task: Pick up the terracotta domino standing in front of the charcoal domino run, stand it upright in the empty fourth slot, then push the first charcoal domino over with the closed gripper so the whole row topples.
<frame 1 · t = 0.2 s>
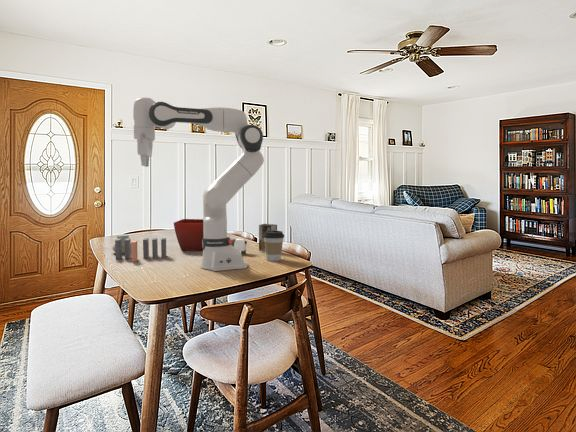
hand: (145, 166, 163), 47 cm above the table, fingers open, 8 cm apart
domino 3: (146, 257, 191), on the table
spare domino: (134, 260, 184), on the table
air freshener: (123, 253, 203), on the table
coffee box: (267, 252, 211), on the table
domino 5: (128, 258, 189), on the table
domino 6: (118, 258, 188), on the table
coffee cup: (273, 260, 190), on the table
giant panda: (235, 254, 204), on the table
domino 2: (155, 257, 192), on the table
plant pot: (194, 248, 217), on the table
domino 1: (164, 256, 193), on the table
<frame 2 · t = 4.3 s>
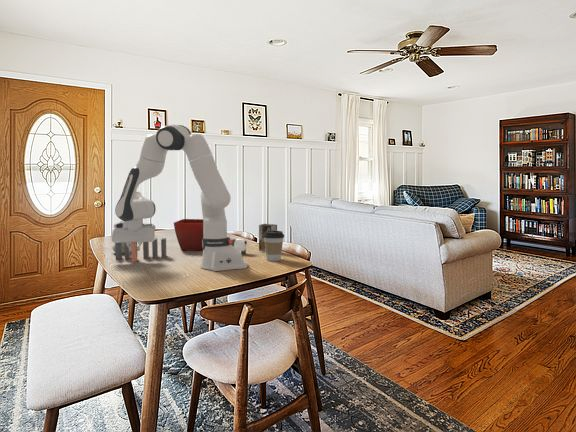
hand: (134, 250, 183), 5 cm above the table, fingers closed on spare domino, 2 cm apart
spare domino: (134, 260, 184), on the table, touching gripper
everything else where it was.
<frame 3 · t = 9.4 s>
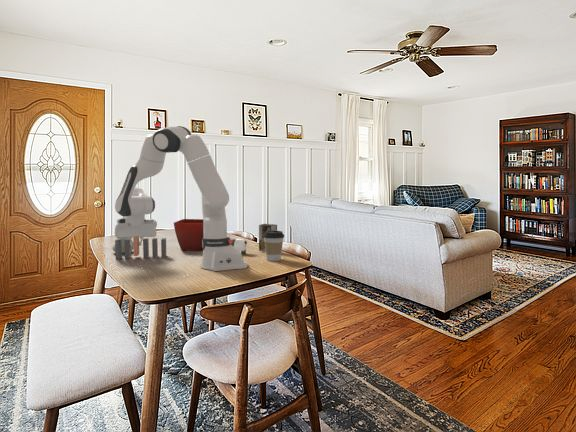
hand: (136, 245, 189), 7 cm above the table, fingers closed on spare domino, 2 cm apart
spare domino: (136, 255, 190), point 1 cm above the table, touching gripper
domino 5: (128, 258, 189), on the table, touching gripper
everything else where it was.
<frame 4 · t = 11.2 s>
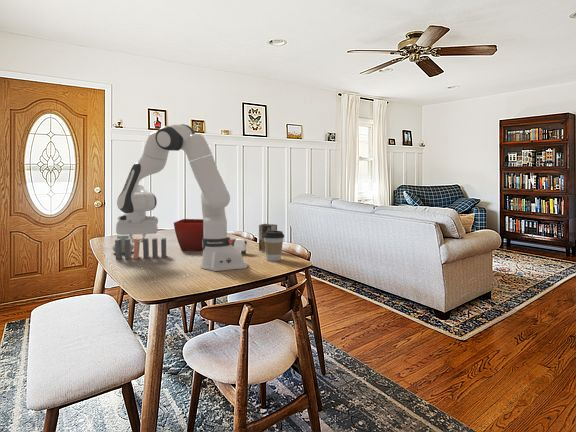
hand: (137, 242, 190), 8 cm above the table, fingers open, 3 cm apart
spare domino: (136, 257, 190), on the table, tilted 5°
domino 5: (128, 258, 189), on the table
everything else where it was.
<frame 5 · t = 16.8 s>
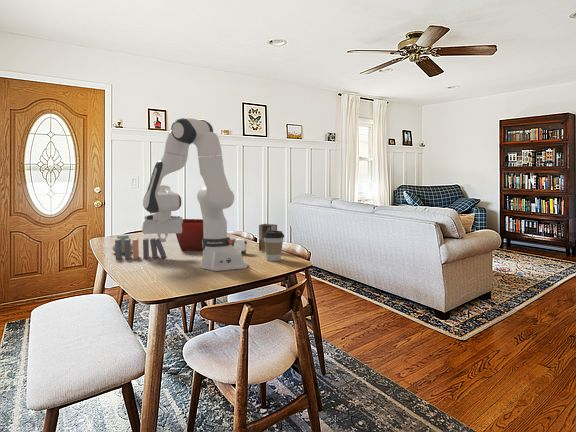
hand: (162, 241, 192), 8 cm above the table, fingers closed
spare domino: (135, 257, 190), on the table
domino 2: (155, 257, 192), on the table, tilted 6°
domino 1: (163, 256, 193), on the table, tilted 20°, touching gripper
everything else where it was.
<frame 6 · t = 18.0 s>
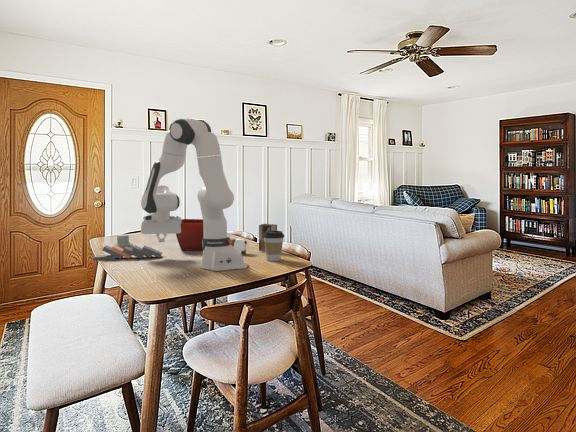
hand: (161, 242, 192), 8 cm above the table, fingers closed
domino 3: (143, 255, 191), point 1 cm above the table, tilted 66°, touching domino 2, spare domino
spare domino: (130, 256, 190), point 1 cm above the table, tilted 60°, touching domino 3, domino 5
domino 5: (122, 256, 189), point 1 cm above the table, tilted 60°, touching domino 6, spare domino
domino 6: (115, 257, 188), point 1 cm above the table, tilted 90°, touching domino 5
domino 2: (151, 255, 192), point 1 cm above the table, tilted 64°, touching domino 1, domino 3
domino 1: (161, 255, 193), point 1 cm above the table, tilted 64°, touching domino 2
everything else where it was.
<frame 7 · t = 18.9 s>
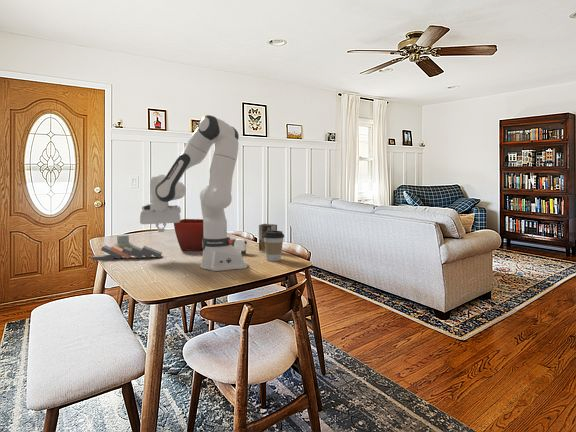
hand: (161, 231, 191), 14 cm above the table, fingers closed
domino 3: (142, 256, 191), point 1 cm above the table, tilted 67°, touching domino 2
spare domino: (130, 256, 190), point 1 cm above the table, tilted 61°, touching domino 5
domino 5: (121, 256, 189), point 1 cm above the table, tilted 61°, touching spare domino
domino 6: (114, 257, 188), point 1 cm above the table, tilted 90°
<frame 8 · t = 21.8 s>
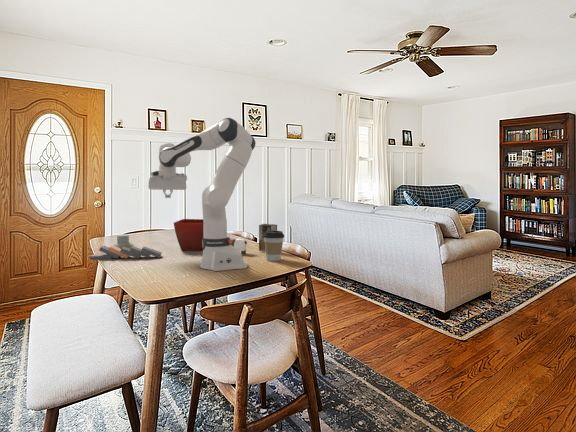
hand: (168, 197, 202), 31 cm above the table, fingers closed
domino 3: (140, 256, 191), point 1 cm above the table, tilted 66°, touching domino 2, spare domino
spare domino: (128, 255, 190), point 1 cm above the table, tilted 64°, touching domino 3, domino 5
domino 5: (119, 256, 189), point 1 cm above the table, tilted 64°, touching domino 6, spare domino
domino 6: (112, 256, 189), point 1 cm above the table, tilted 90°, touching domino 5
domino 2: (149, 255, 192), point 1 cm above the table, tilted 66°, touching domino 3
domino 1: (160, 255, 193), point 1 cm above the table, tilted 67°
everything else where it was.
at the end: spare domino inside the target area (1.3 cm from its centre), point 1.1 cm above the table; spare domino tilted 65°; domino 6 tilted 90° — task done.
